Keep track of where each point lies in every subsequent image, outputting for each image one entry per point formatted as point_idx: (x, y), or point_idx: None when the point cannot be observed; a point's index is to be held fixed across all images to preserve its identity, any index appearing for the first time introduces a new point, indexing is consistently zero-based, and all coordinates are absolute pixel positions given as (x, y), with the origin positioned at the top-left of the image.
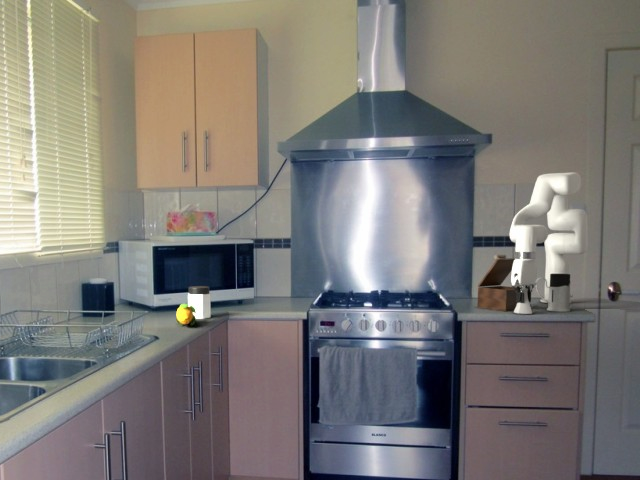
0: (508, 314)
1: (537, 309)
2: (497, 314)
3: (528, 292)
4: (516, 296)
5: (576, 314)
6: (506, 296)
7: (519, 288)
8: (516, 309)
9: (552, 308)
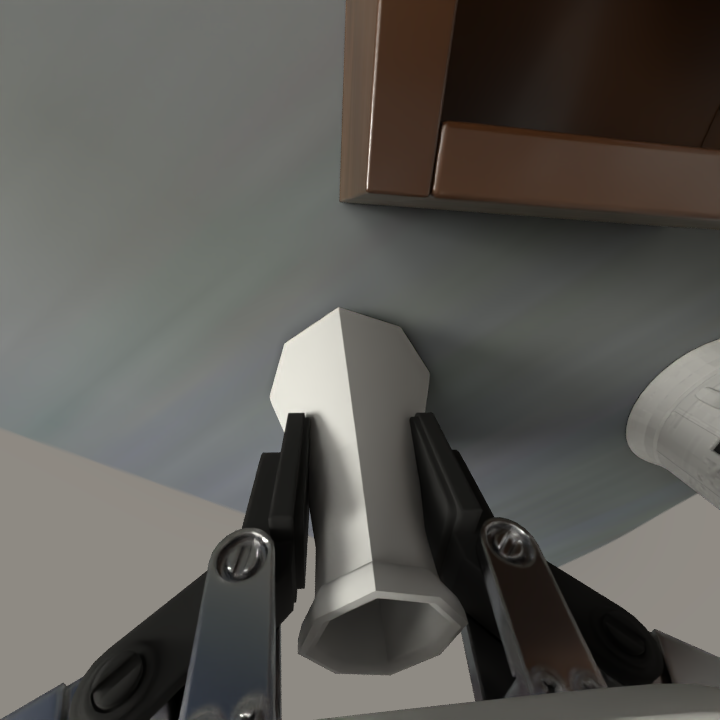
0: (177, 365)
1: (688, 290)
2: (70, 314)
3: (442, 568)
4: (279, 461)
5: (543, 541)
6: (356, 199)
7: (182, 696)
8: (283, 382)
9: (657, 415)
